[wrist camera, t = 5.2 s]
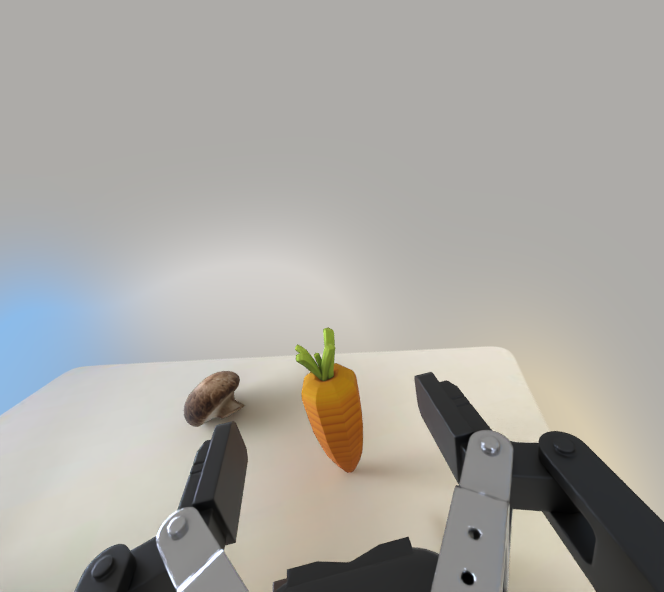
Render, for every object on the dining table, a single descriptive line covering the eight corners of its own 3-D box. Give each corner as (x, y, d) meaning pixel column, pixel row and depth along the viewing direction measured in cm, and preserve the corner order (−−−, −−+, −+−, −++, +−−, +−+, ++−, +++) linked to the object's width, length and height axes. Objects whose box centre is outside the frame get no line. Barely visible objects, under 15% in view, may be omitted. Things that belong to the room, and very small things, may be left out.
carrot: (336, 505, 28) (294, 362, 22) (318, 462, 32) (280, 334, 27) (385, 479, 29) (358, 338, 24) (362, 441, 34) (334, 315, 28)
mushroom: (260, 391, 40) (221, 359, 39) (213, 449, 36) (169, 415, 36) (252, 389, 47) (219, 361, 46) (213, 437, 44) (176, 408, 43)
